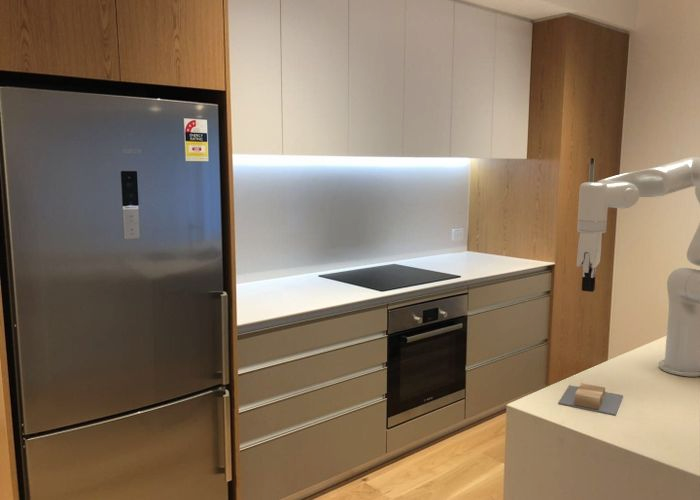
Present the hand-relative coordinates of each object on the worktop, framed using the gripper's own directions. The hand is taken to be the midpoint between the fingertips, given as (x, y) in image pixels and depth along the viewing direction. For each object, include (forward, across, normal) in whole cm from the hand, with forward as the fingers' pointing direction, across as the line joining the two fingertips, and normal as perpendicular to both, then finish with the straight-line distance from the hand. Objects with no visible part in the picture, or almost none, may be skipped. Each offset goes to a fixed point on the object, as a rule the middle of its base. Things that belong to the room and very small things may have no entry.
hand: (588, 290), depth 166 cm
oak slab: (+25, +10, +4) cm, 28 cm away
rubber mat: (+27, +13, +4) cm, 30 cm away
